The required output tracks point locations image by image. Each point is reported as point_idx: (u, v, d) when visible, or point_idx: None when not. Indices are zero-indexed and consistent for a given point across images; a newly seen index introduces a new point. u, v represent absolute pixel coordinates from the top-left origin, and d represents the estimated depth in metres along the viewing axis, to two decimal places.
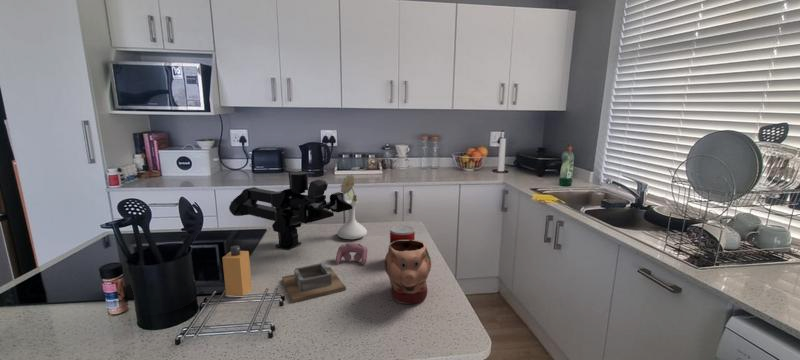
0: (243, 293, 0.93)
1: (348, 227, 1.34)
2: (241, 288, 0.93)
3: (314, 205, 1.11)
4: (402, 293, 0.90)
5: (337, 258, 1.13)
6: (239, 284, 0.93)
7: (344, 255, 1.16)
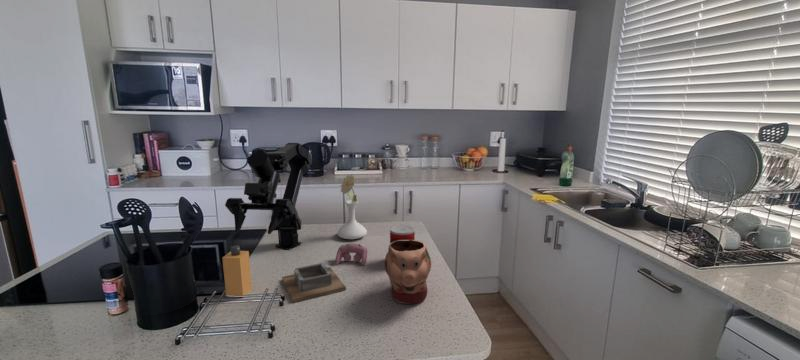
0: (243, 293, 0.93)
1: (348, 227, 1.34)
2: (241, 288, 0.93)
3: (234, 209, 1.03)
4: (402, 293, 0.90)
5: (337, 258, 1.13)
6: (239, 284, 0.93)
7: (344, 255, 1.16)
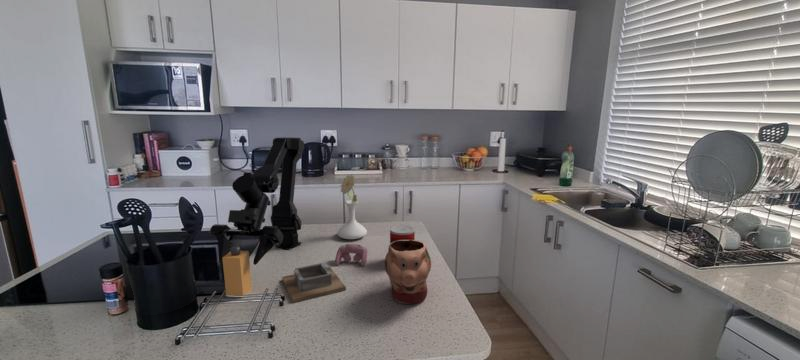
0: (243, 293, 0.93)
1: (348, 227, 1.34)
2: (241, 288, 0.93)
3: (218, 237, 0.97)
4: (402, 293, 0.90)
5: (337, 259, 1.13)
6: (239, 284, 0.93)
7: (344, 256, 1.15)
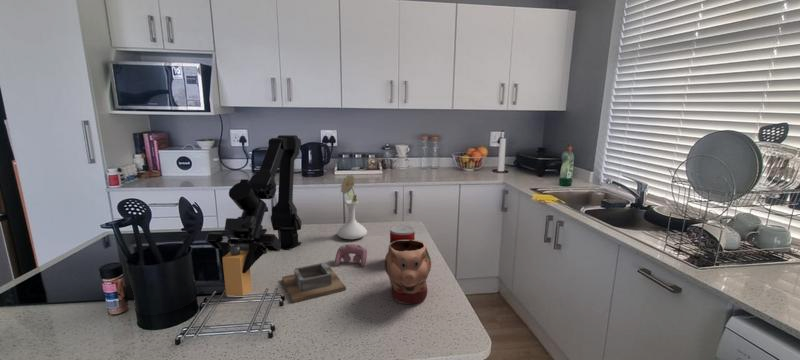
0: (243, 293, 0.93)
1: (348, 227, 1.34)
2: (241, 288, 0.93)
3: (223, 246, 0.95)
4: (402, 293, 0.90)
5: (336, 259, 1.12)
6: (239, 284, 0.93)
7: (343, 256, 1.15)
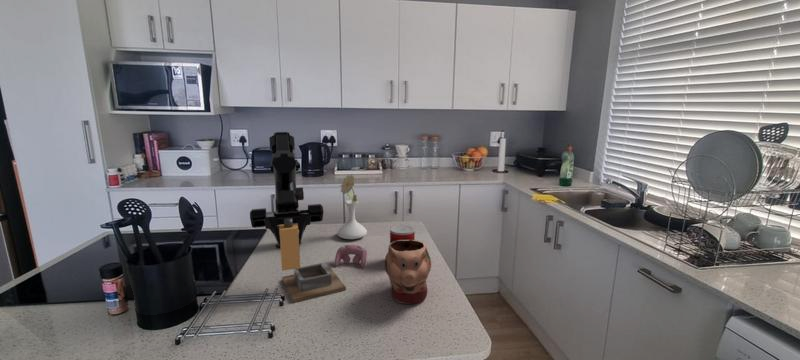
0: (299, 263, 0.95)
1: (348, 227, 1.34)
2: (298, 258, 0.95)
3: (272, 220, 0.94)
4: (402, 293, 0.90)
5: (336, 260, 1.12)
6: (296, 255, 0.94)
7: (343, 257, 1.14)
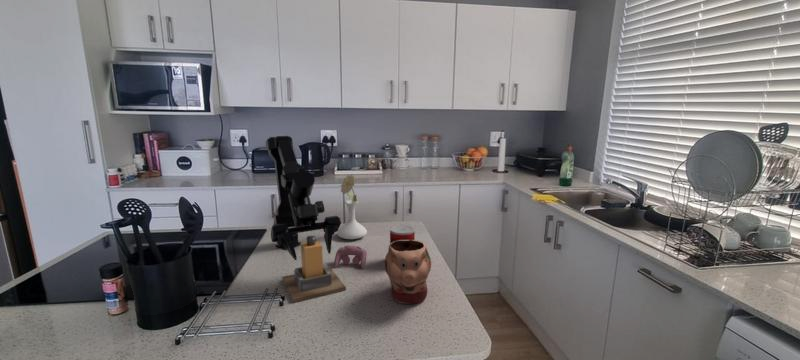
0: None
1: (348, 227, 1.34)
2: (322, 274, 0.98)
3: (286, 236, 0.96)
4: (402, 293, 0.90)
5: (336, 261, 1.11)
6: (320, 271, 0.98)
7: (343, 258, 1.14)
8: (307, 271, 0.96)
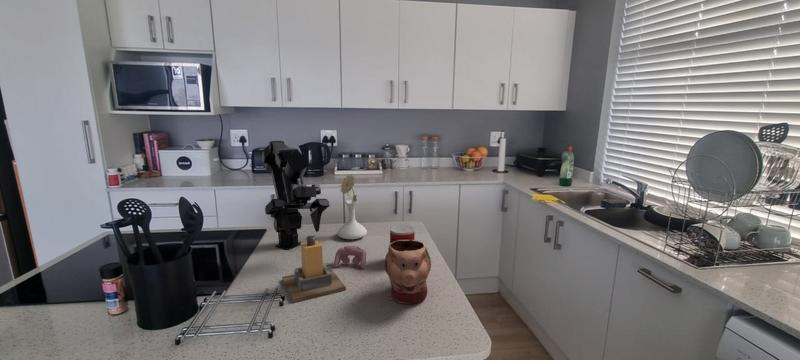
0: None
1: (348, 227, 1.34)
2: (322, 274, 0.98)
3: (284, 211, 1.03)
4: (402, 293, 0.90)
5: (335, 262, 1.11)
6: (320, 271, 0.98)
7: (342, 258, 1.13)
8: (307, 271, 0.96)
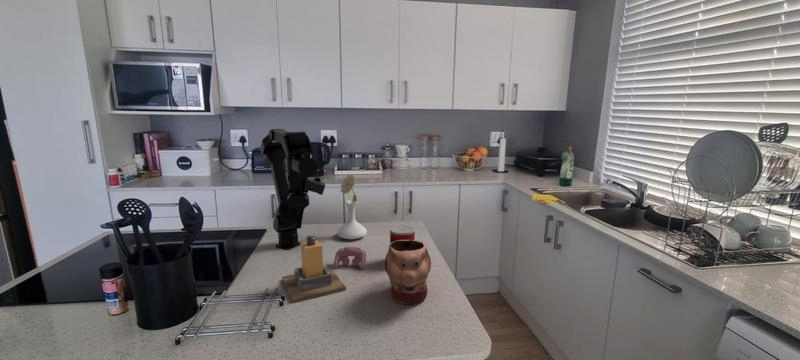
0: None
1: (348, 227, 1.34)
2: (322, 274, 0.98)
3: None
4: (402, 293, 0.90)
5: (335, 262, 1.10)
6: (320, 271, 0.98)
7: (342, 259, 1.13)
8: (307, 271, 0.96)
